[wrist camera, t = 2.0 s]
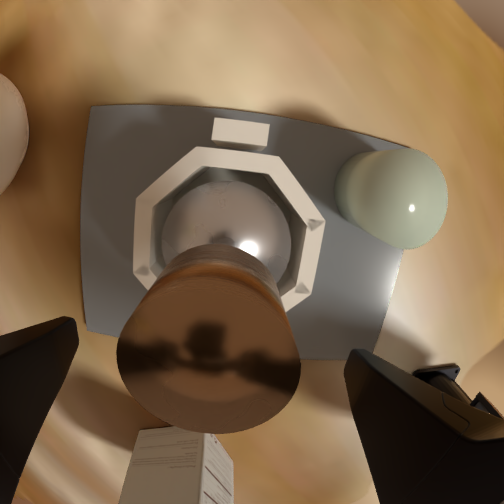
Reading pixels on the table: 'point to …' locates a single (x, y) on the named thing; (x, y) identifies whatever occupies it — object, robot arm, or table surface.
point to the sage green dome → (393, 196)
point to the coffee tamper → (215, 316)
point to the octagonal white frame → (242, 170)
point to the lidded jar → (11, 131)
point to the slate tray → (200, 134)
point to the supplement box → (178, 469)
